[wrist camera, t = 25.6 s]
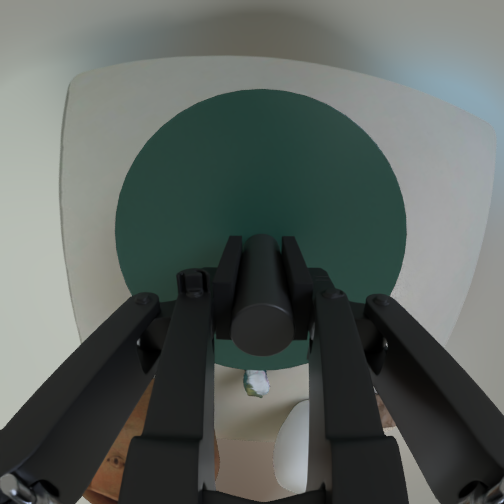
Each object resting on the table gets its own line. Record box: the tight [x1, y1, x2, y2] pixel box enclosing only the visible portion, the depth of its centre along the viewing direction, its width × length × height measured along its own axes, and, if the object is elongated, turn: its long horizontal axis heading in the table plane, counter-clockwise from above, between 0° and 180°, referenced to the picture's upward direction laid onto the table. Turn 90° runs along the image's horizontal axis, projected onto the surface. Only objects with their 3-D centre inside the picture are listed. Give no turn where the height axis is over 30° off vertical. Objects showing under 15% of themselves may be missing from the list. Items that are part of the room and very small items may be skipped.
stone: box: [375, 395, 396, 428], centre depth 47 cm, size 12×9×10 cm
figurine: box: [243, 370, 270, 398], centre depth 43 cm, size 12×9×8 cm
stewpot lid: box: [115, 89, 407, 371], centre depth 15 cm, size 21×21×10 cm
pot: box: [82, 378, 220, 504], centre depth 36 cm, size 24×24×30 cm
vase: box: [273, 400, 309, 494], centre depth 37 cm, size 14×14×28 cm
